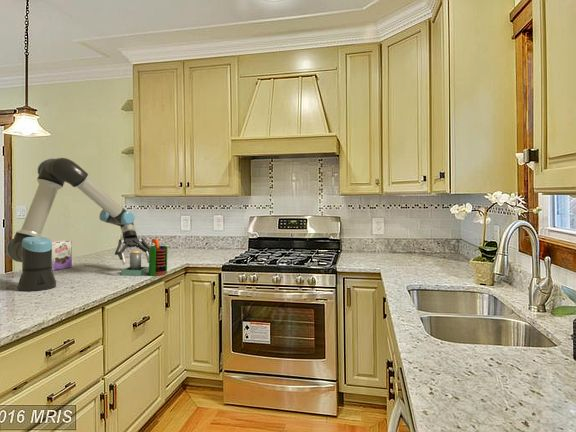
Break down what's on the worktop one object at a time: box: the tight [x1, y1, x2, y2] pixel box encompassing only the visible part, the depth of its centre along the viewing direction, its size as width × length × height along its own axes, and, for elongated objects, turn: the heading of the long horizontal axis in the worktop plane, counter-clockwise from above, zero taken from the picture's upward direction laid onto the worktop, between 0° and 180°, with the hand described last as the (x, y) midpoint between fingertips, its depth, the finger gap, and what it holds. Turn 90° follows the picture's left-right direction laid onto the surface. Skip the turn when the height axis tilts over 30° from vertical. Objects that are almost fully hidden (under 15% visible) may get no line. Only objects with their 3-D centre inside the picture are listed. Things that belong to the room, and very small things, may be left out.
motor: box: [148, 238, 168, 277], centre depth 216 cm, size 10×9×20 cm
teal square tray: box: [120, 266, 149, 277], centre depth 217 cm, size 11×12×3 cm
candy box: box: [51, 240, 73, 272], centre depth 226 cm, size 14×6×16 cm, turn 160°
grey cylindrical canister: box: [129, 250, 142, 270], centre depth 216 cm, size 6×6×12 cm
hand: (136, 262), depth 214 cm, fingers open, 13 cm apart
